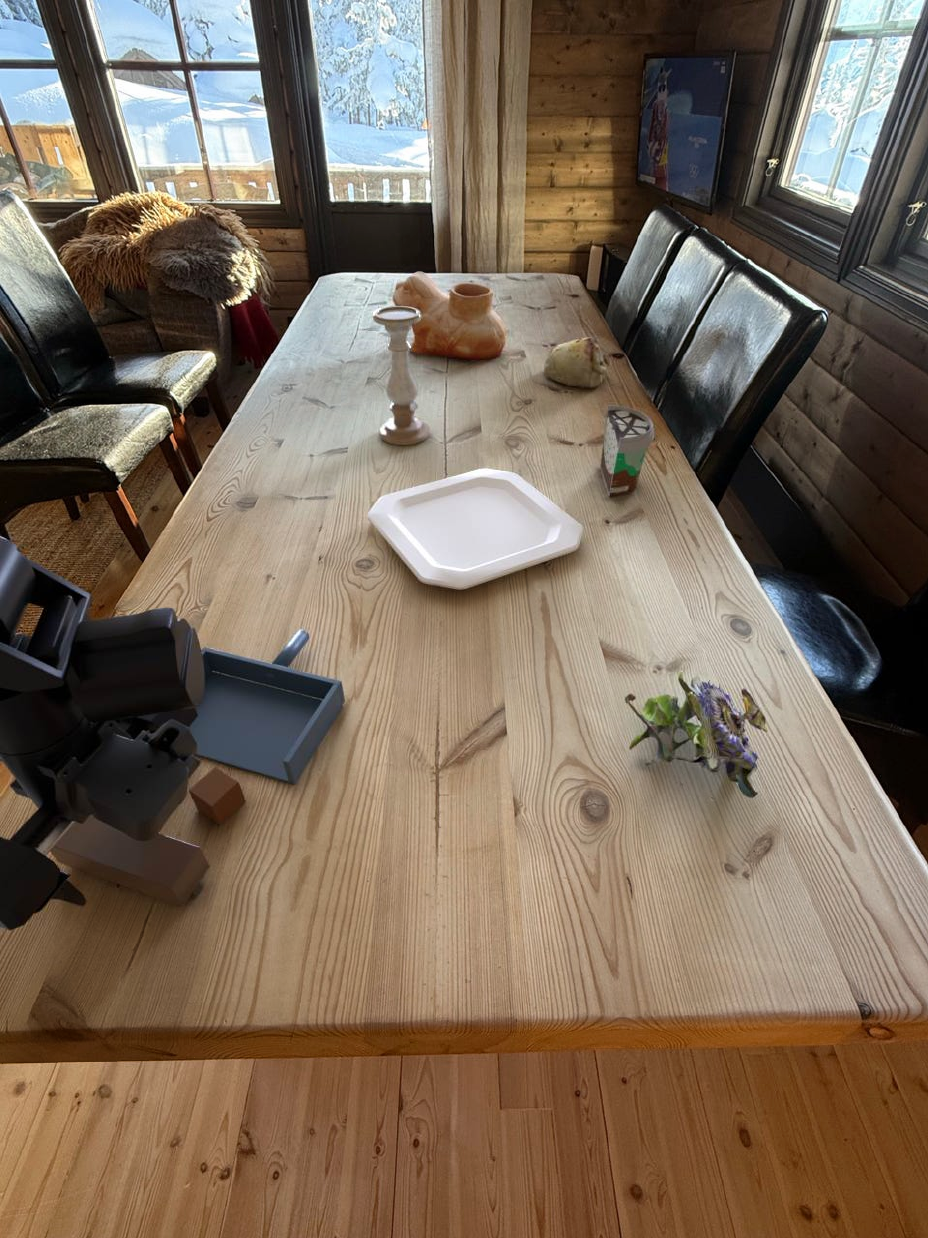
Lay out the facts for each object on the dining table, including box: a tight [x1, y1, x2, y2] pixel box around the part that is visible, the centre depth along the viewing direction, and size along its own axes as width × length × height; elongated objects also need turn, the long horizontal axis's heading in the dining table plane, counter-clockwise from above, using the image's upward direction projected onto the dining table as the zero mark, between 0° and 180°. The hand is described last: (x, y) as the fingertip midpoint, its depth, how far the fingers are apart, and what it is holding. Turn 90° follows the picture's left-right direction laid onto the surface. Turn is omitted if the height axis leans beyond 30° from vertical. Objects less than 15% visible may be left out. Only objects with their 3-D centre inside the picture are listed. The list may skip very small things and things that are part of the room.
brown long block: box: [49, 815, 210, 908], centre depth 53 cm, size 12×4×4 cm, turn 72°
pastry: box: [543, 336, 607, 389], centre depth 134 cm, size 14×12×8 cm
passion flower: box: [624, 670, 768, 799], centre depth 60 cm, size 11×11×12 cm
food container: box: [599, 404, 655, 498], centre depth 100 cm, size 12×6×10 cm, turn 179°
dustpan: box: [189, 629, 346, 786], centre depth 68 cm, size 17×16×3 cm
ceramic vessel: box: [391, 271, 507, 363], centre depth 144 cm, size 14×26×15 cm, turn 67°
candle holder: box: [372, 305, 431, 446], centre depth 109 cm, size 9×9×20 cm
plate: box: [366, 468, 584, 591], centre depth 91 cm, size 25×25×2 cm
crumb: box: [188, 766, 247, 826], centre depth 58 cm, size 3×3×3 cm
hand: (122, 848), depth 52 cm, fingers open, 9 cm apart
